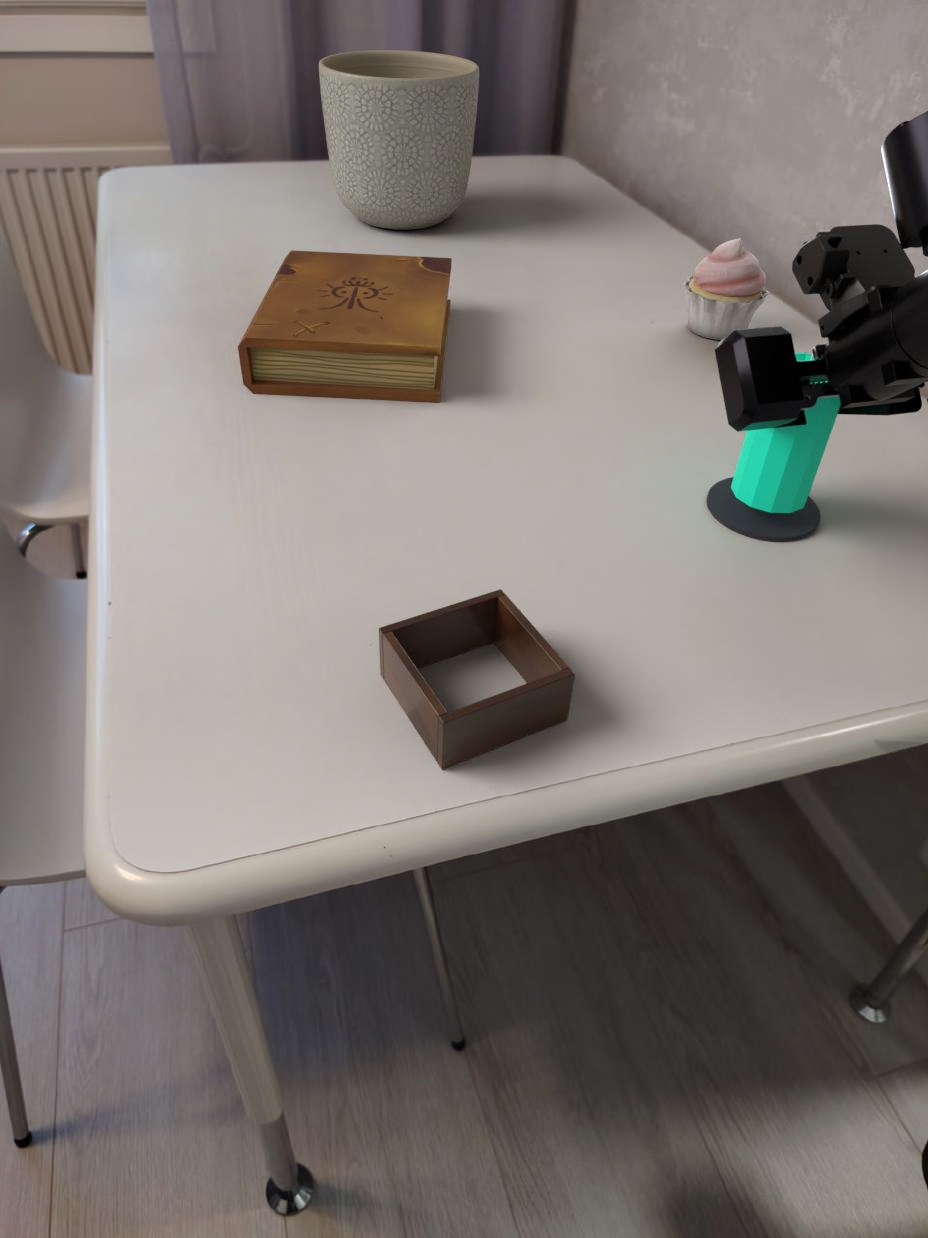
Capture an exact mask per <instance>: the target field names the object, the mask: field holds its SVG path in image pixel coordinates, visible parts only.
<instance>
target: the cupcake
mask: <svg viewBox="0 0 928 1238" xmlns="http://www.w3.org/2000/svg"><path fill="white" fill-rule="evenodd" d="M760 265H761V264H760V262H759V260H758V258H757V257H755V255H754V254H752V253H751V252H750V251H749V250H748V249H746V248H745V247H743V241H742V238H740V237H738V238H735V239H730V240H727V241H725V242H723V243H721V244H719V245H718V246H717V247H715V249H713V251H712V252H711V254H709V255H707V256H704V257H703V259H702V260H701V261H700V262H699V263H698V265H697V266H696V268H695V269H694V272H693V275H689V276H688V277H687V280H686V281H683V288H684V292H685V298H686V308H687V309H686V310H687V326H688V328H689V330H690V331H691V332H692V333H694V334H695V335H698V336H699V337H702V338H706V339H710V340H716V341H721V340H723V339H724V338H725V337H726V336H728V335H729V334H730V333H731V332H733V331H734V330H738V329H748V328H749V325H750V323H751V321H752V318H753V316H754V314H755V313H756V311H757V310H758V309H759V307H760V306H762V304H764V302H765V301H766V299H767V297H768V295H770V293H771V291H768V290H766V289H764V288H765V286H766V283H767V276H766V273H765V271H764V270H762V269H761V266H760Z"/></svg>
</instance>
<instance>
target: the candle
mask: <svg viewBox="0 0 928 1238" xmlns="http://www.w3.org/2000/svg"><path fill="white" fill-rule="evenodd" d="M795 356H796V359H797V361H812V360H815V359H814V357H813V353H809V352H795ZM825 382H828V381H825ZM816 383H818V382H815V384H816ZM820 383H822V382H820ZM811 384H812V383H811ZM840 406H841V403H840V398H839V396H836V397H827V398H818V399H817V402H816V404H815V406H814V407H812V408H811V409H808V410H804V412H805V417H806V422H807V424H806V425H799V426H790V427H781V428H766V429H758V430H749V431H745V436H744V439H743V443H742V447H741V450H740V454H739V457H738V461H737V464H736V468H735V471H734V475H733V477H734V478H733V481H732V485H731V489H732V491H733V492H734V494H735V496H736V498H738V499H739V500H741V501H742V502H744V503H745V504H747V505H748V506H750V507H753V508H756V509H759V510H763V511H766V512H770V513H792V512H794V511H797V510H800V509H802V508H804V505H805V503H806V501H807V498H808V496H809V495H810V493H811V491H812V487H813V484H814V482H815V478H816V476H817V473H818V470H819V468H820V464H821V461H822V459H823V455H824V453H825V450H826V448H827V445H828V443H829V439H830V436H831V434H832V431H833V428H834V425H835V422H836V419H837V418H838V417H837V416H838V415H839V414H838V411H839V408H840Z"/></svg>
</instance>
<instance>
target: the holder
mask: <svg viewBox="0 0 928 1238" xmlns="http://www.w3.org/2000/svg"><path fill="white" fill-rule="evenodd" d="M493 643H494V644H495V646H497V648H498V649H499V651H500V652H501V653H502V654H503V655H504V657H505V658H506V659H507V660H508V661H509V663H510V664H511V665H512V667H513V668H514V669H515V670H516V671H517V672H518V674H519V675H520V676H521V678H522V679H523V680H524V681H525V684H521V685H519V686H516V687H514V688H510V689H509V690H505V691H503V692H500V693H498V694H495V695H492V696H490V697H486V698H484V699H482V700H478V701H476V702H474V703H470V704H467V705H465V706H462V707H460V708H457V709H454V710H451V711H449V712H448V711H447V710H446V708H445V707H444V705H443V703H442V702H441V701H440V699H439V698H438V697H437V695H436V693H435V692H434V691H433V689H432V688H431V686H430V685H429V684H428V682H427V681H426V679H425V678H424V677H423V675H422V673H421V672H420V671H419V669H421V668H424V667H427V666H429V665H432V664H435V663H438V662H442V661H444V660H446V659H449V658H453V657H455V656H458V655H461V654H464V653H467V652H470V651H473V650H477V649H479V648H481V647H484V646H487V645H490V644H493ZM378 649H379V673H380V677H381V678H382V679H383V681H384V682H385V684H386V686H388V689H389V690H390V692H391V693H392V695H393V697H394V698H395V700H396V701H397V703H398V704H399V706H400V707H401V709H402V710H403V712H404V714H405V715H406V716H407V718H408V719H409V721H410V722H411V724H412V726H413V728H414V729H415V730H416V732H417V733H418V735H419V736H420V738H421V740H422V741H423V742H424V744H425V746H426V747H427V749H428V751H429V752H430V753H431V755H432V757H433V758H434V760H435V761H436V762H437V764H438V766H439V767H440V769H441V770H446V769H448V768H451V767H453V766H456V765H459V764H460V763H464V762H465V761H468V760H470V759H474V758H475V757H478V756H481V755H483V754H487V753H488V752H490V751H493V750H495V749H498V748H501V747H503V746H506V745H508V744H512V743H513V742H516V741H518V740H520V739H523V738H526V737H529V736H531V735H533V734H536V733H538V732H541V731H544V730H545V729H549V728H551V727H554V726H555V725H556V726H557V725H559V724H561V723H563V722H566V721H568V719H569V713H570V707H571V701H572V697H573V696H572V695H573V691H574V684H575V679H576V678H575V677H576V673H575V671H574V670H573V669H572V668H571V667H570V666H569V665H568V663H567V662H566V661H565V660H564V658H562V656H561V655H560V654H559V653H558V652H557V651H556V650H555V648H554V647H553V646H552V645H551V644H550V643H549V642H548V641H547V639H546V638H545V637H544V636H543V635H542V633H540V632H539V630H538V629H537V628H536V627H535V626H534V625H533V623H532V622H531V621H530V620H529V619H528V618H527V617H526V616H525V615H524V613H523V612H522V611H521V610H520V609H519V608H518V607H517V605H516V604H515V603H514V602H513V601H512V600H511V598H510V597H509V596H508V595H507V594H506V593H505V592H504V590H503V589H501V588H499V589H496V590H493V591H490V592H487V593H484V594H481V595H478V596H474V597H472V598H468V599H465V600H462V601H459V602H456V603H453V604H449V605H447V606H443V607H440V608H436V609H434V610H430V611H427V612H424V613H421V614H418V615H415V616H411V617H409V618H406V619H402V620H399V621H396V622H393V623H390V624H387V625H384V626H383V625H382V626H380V627H378Z"/></svg>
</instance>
